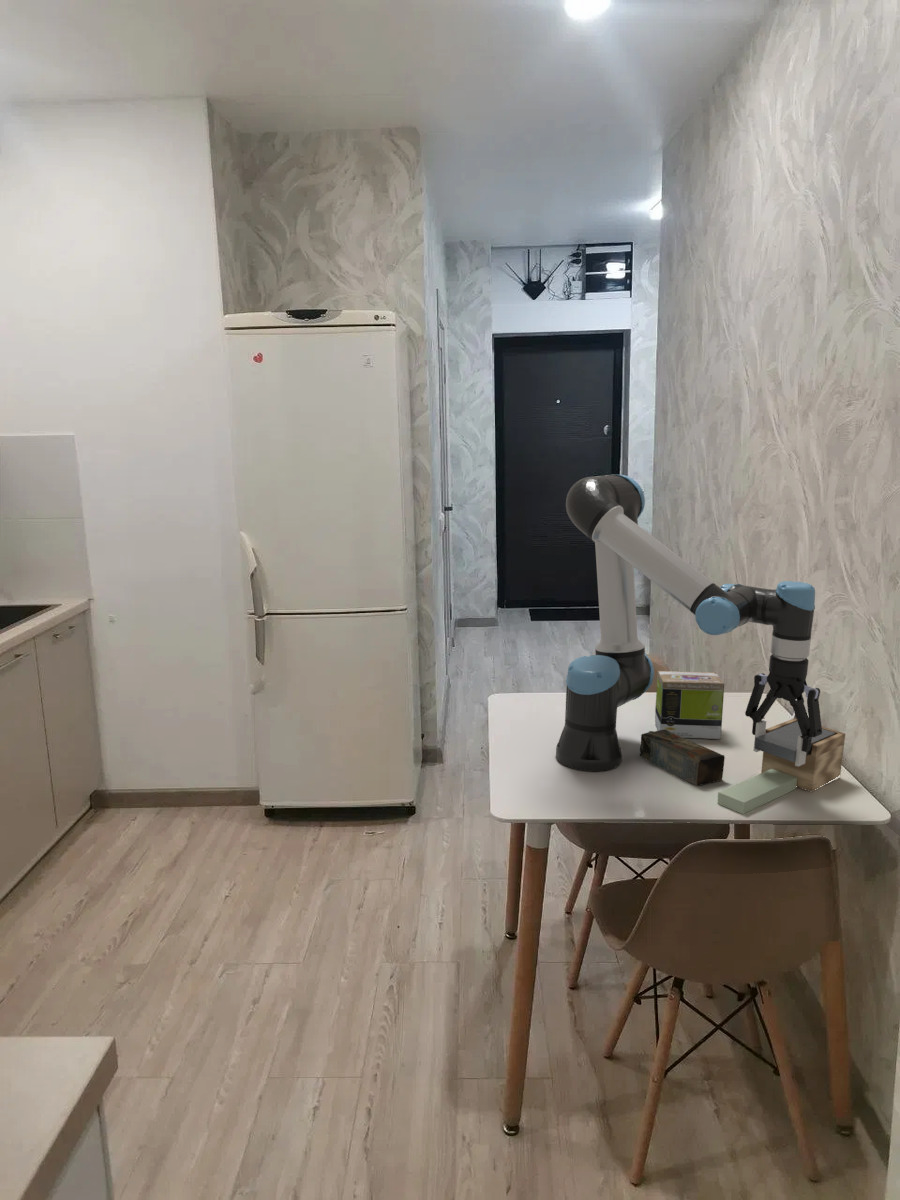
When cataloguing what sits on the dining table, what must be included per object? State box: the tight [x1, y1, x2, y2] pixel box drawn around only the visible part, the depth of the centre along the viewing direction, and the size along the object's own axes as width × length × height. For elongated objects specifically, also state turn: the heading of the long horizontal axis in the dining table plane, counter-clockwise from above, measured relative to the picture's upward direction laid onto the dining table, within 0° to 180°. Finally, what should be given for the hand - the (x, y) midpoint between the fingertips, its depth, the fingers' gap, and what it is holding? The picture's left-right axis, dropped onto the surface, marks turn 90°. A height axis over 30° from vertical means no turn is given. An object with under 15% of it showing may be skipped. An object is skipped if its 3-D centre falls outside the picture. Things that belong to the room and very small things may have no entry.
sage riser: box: [717, 769, 797, 815], centre depth 181 cm, size 20×6×2 cm, turn 129°
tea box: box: [654, 670, 725, 740], centre depth 216 cm, size 15×10×15 cm, turn 84°
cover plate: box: [754, 721, 836, 762], centre depth 187 cm, size 17×9×2 cm, turn 129°
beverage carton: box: [639, 730, 726, 787], centre depth 194 cm, size 8×19×7 cm, turn 29°
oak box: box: [760, 717, 846, 792], centre depth 191 cm, size 12×12×10 cm
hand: (778, 757), depth 184 cm, fingers closed on cover plate, 9 cm apart
